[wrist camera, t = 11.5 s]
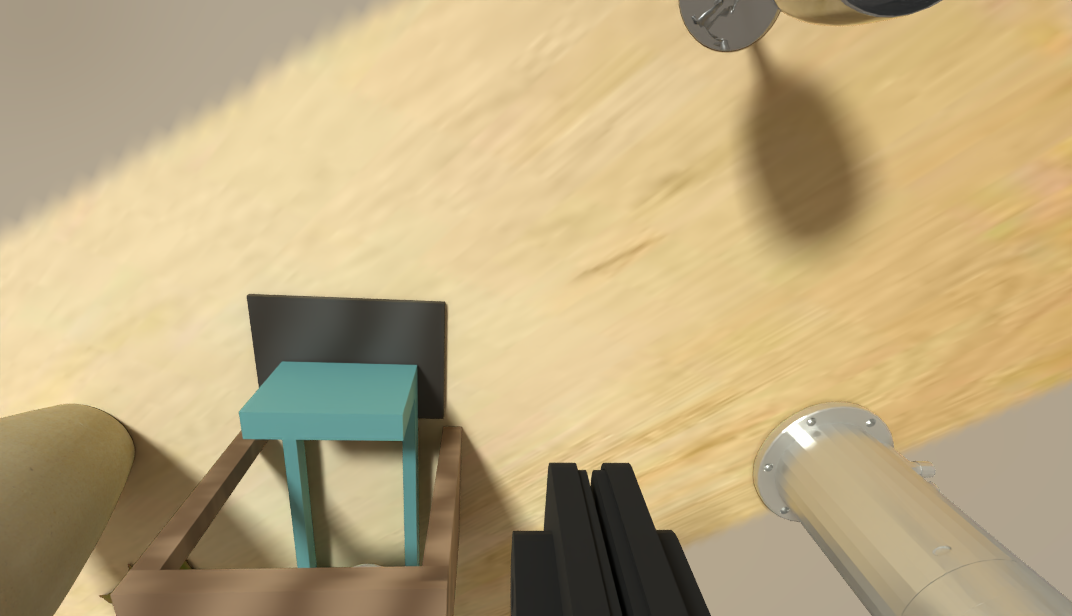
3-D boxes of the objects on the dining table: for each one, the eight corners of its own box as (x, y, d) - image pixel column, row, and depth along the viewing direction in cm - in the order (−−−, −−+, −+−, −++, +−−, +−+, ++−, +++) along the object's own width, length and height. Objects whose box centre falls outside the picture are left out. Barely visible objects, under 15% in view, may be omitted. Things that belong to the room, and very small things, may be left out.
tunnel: (464, 302, 38) (449, 414, 24) (459, 539, 46) (444, 730, 32) (227, 293, 37) (54, 408, 22) (263, 540, 44) (154, 744, 30)
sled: (417, 364, 39) (402, 414, 33) (420, 647, 50) (409, 727, 43) (281, 361, 38) (238, 411, 32) (314, 650, 49) (287, 732, 42)
